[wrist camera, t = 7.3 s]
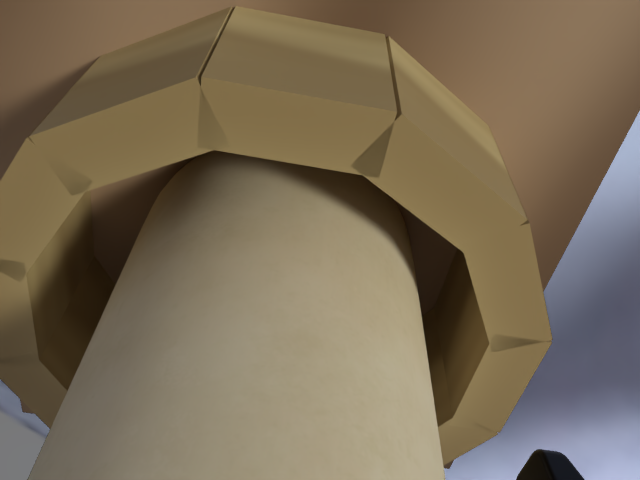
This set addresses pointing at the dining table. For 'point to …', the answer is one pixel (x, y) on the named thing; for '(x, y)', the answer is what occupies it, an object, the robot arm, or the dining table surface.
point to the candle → (256, 338)
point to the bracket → (313, 156)
